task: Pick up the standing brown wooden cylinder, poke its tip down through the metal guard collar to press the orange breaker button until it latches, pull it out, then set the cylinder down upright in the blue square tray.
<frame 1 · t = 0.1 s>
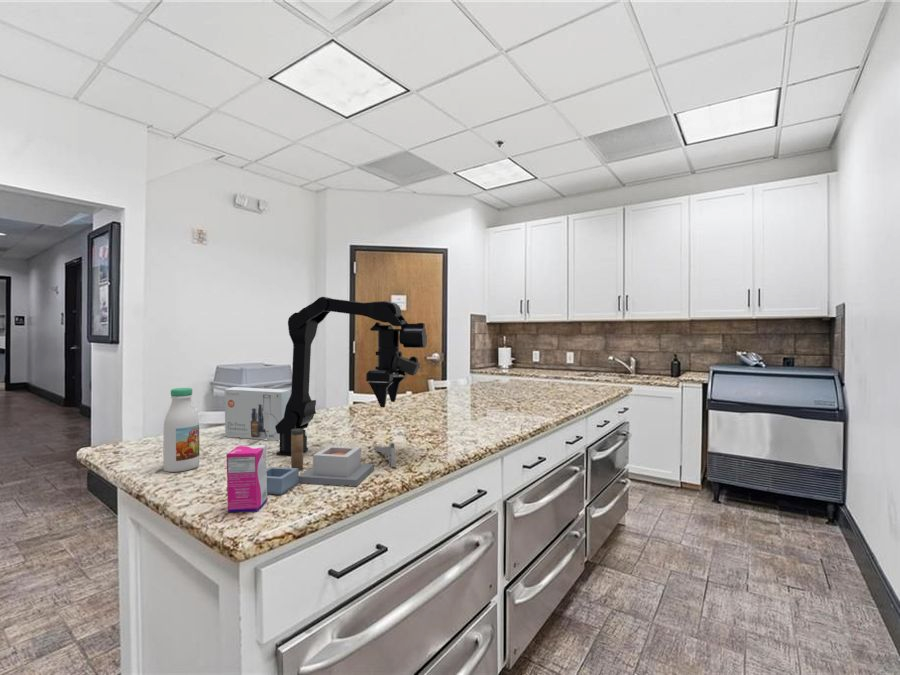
hand: (388, 404, 119), 15 cm above the counter, tool pointing down, fingers open, 9 cm apart
brown wooden cylinder: (297, 469, 109), on the counter
skincare box: (257, 438, 141), on the counter
supplement box: (247, 507, 86), on the counter
button: (337, 458, 104), point 4 cm above the counter, slide at 0.0 cm
caliper: (383, 459, 120), on the counter
grey piece: (337, 476, 104), on the counter
blue square tray: (275, 488, 96), on the counter
milk bottle: (181, 468, 110), on the counter
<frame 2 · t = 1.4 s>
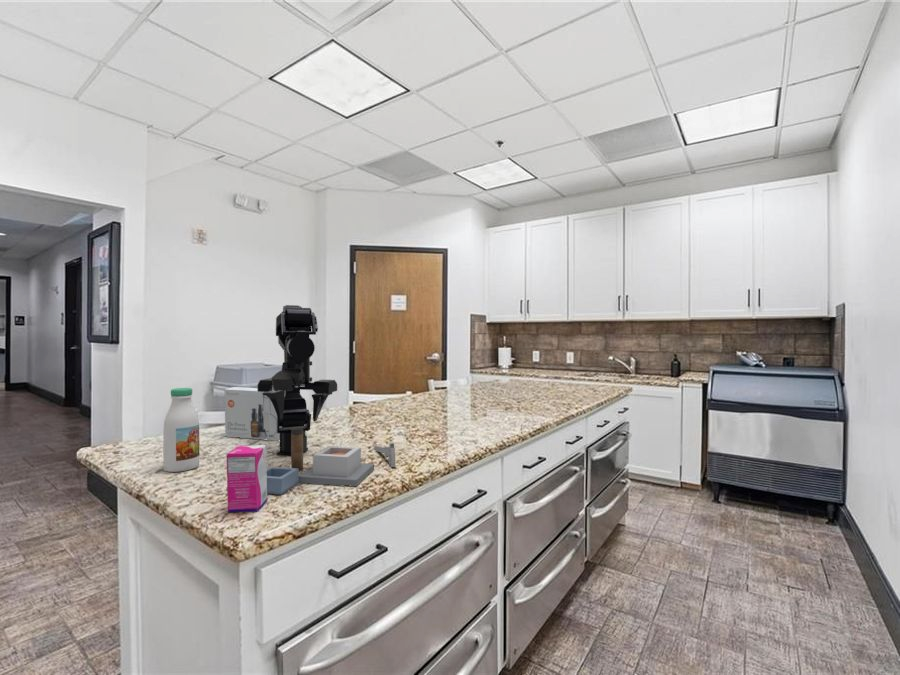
hand: (297, 420, 109), 12 cm above the counter, tool pointing down, fingers open, 9 cm apart
nothing on the counter moved.
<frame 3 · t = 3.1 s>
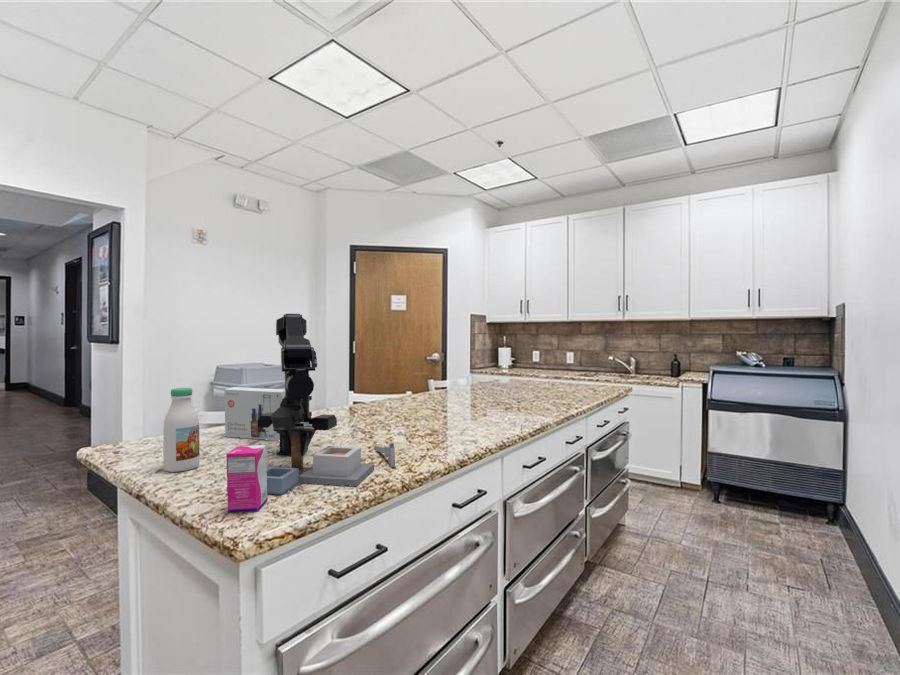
hand: (297, 455, 109), 4 cm above the counter, tool pointing down, fingers closed on brown wooden cylinder, 3 cm apart
brown wooden cylinder: (297, 469, 109), on the counter, touching gripper
everything else where it was.
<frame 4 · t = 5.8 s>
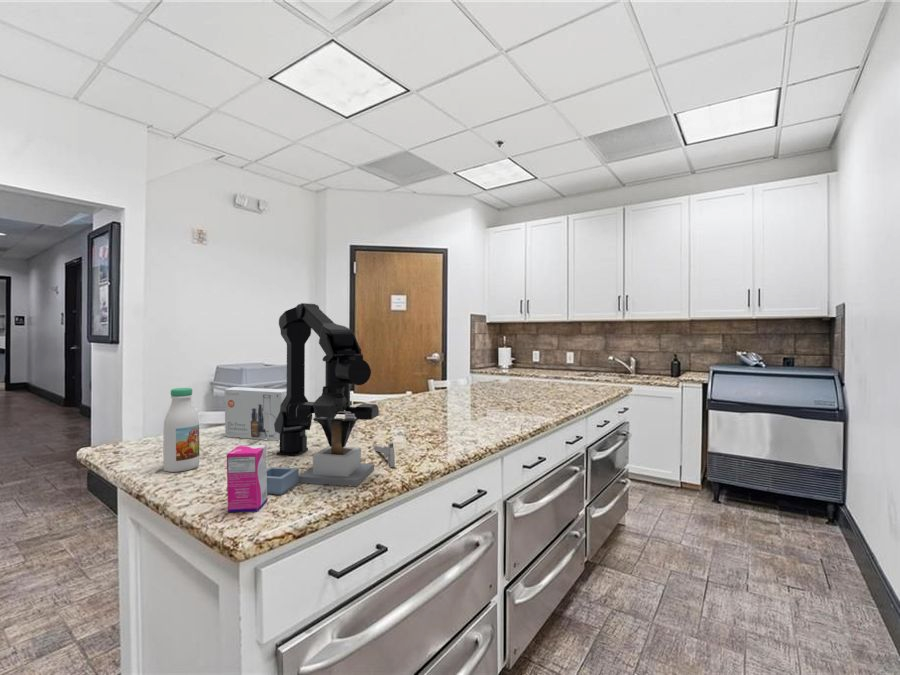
hand: (337, 446, 104), 7 cm above the counter, tool pointing down, fingers closed on brown wooden cylinder, 3 cm apart
brown wooden cylinder: (337, 461, 104), point 4 cm above the counter, touching button, gripper
button: (337, 464, 104), point 3 cm above the counter, slide at 1.5 cm, touching brown wooden cylinder
everything else where it was.
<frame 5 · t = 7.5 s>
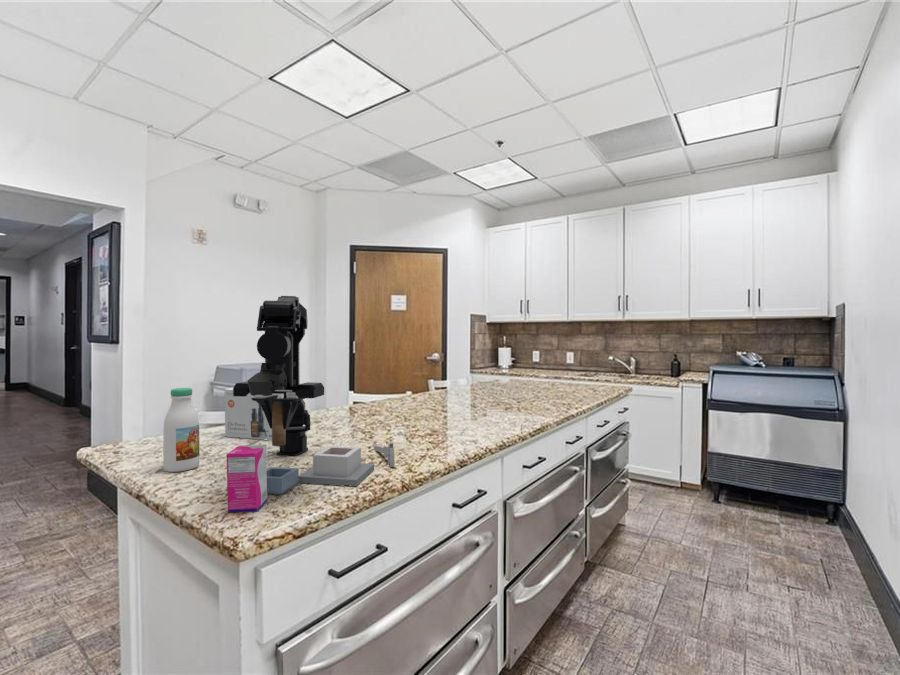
hand: (279, 428, 96), 13 cm above the counter, tool pointing down, fingers closed on brown wooden cylinder, 3 cm apart
brown wooden cylinder: (278, 444, 96), point 10 cm above the counter, touching gripper
button: (337, 464, 104), point 3 cm above the counter, slide at 1.5 cm
everything else where it was.
when the fingers open (5 cm above the counter, at t = 9.1 s): brown wooden cylinder stays where it is, resting on blue square tray.
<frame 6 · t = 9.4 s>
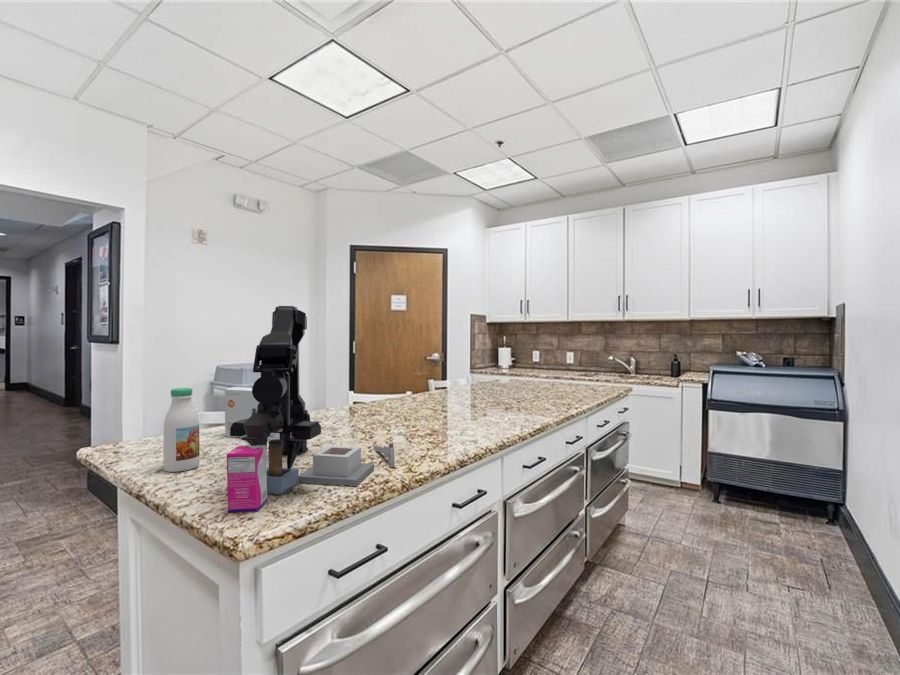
hand: (275, 467, 96), 5 cm above the counter, tool pointing down, fingers open, 6 cm apart
brown wooden cylinder: (275, 486, 96), point 1 cm above the counter, touching blue square tray
everything else where it was.
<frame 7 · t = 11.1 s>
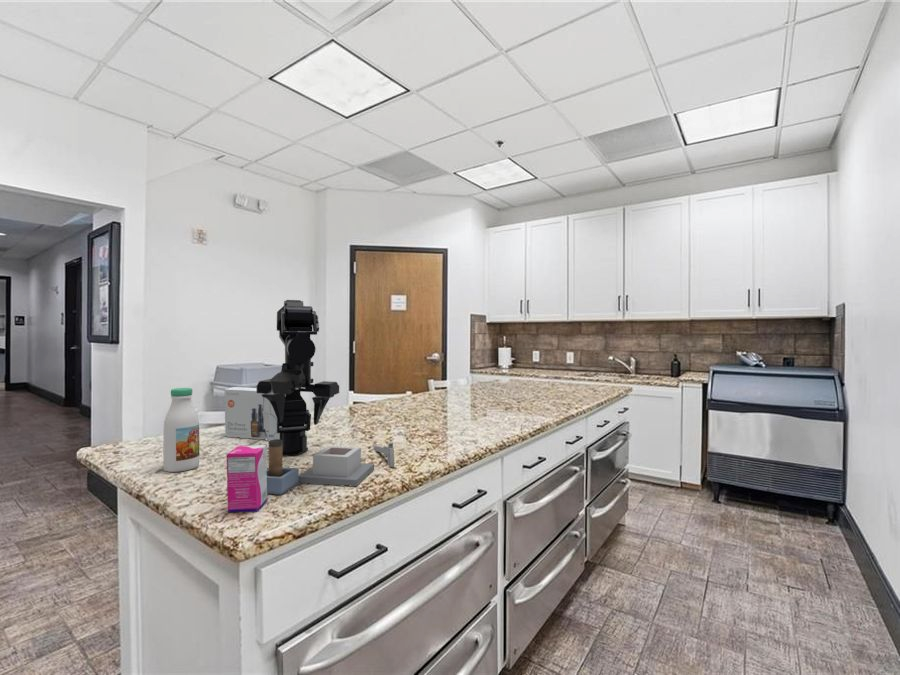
hand: (298, 423, 105), 12 cm above the counter, tool pointing down, fingers open, 9 cm apart
nothing on the counter moved.
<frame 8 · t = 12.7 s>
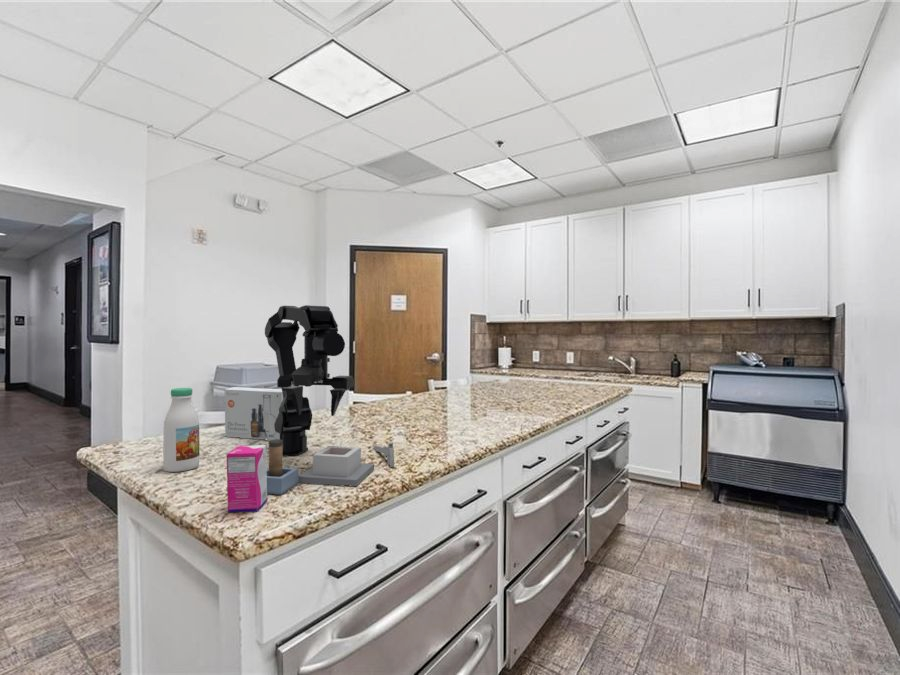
hand: (315, 415, 112), 13 cm above the counter, tool pointing down, fingers open, 9 cm apart
nothing on the counter moved.
at the end: button slide at 1.5 cm; brown wooden cylinder 0.1 cm off-centre on the blue square tray, point 0.5 cm above the blue square tray's base; the gripper is holding nothing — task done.
